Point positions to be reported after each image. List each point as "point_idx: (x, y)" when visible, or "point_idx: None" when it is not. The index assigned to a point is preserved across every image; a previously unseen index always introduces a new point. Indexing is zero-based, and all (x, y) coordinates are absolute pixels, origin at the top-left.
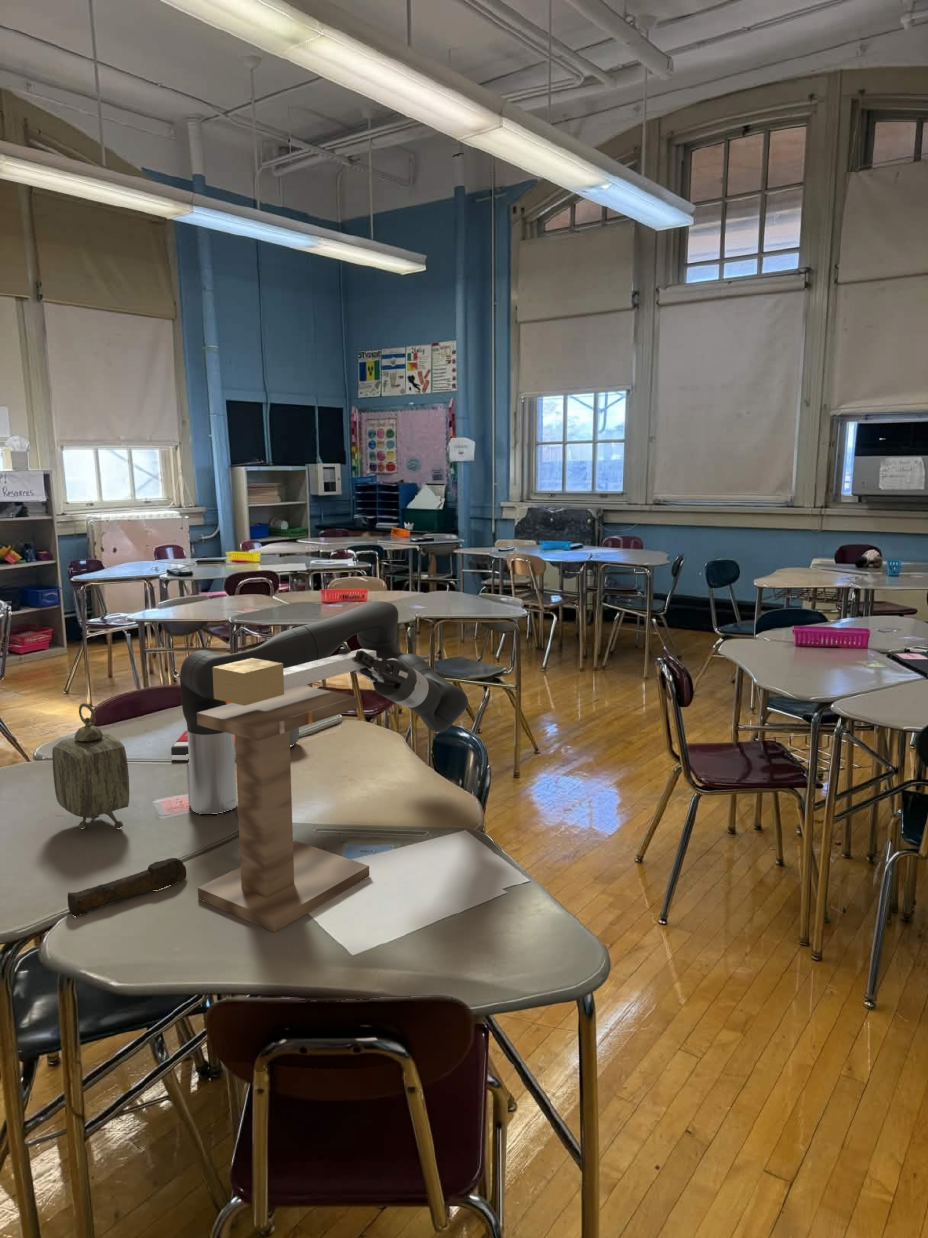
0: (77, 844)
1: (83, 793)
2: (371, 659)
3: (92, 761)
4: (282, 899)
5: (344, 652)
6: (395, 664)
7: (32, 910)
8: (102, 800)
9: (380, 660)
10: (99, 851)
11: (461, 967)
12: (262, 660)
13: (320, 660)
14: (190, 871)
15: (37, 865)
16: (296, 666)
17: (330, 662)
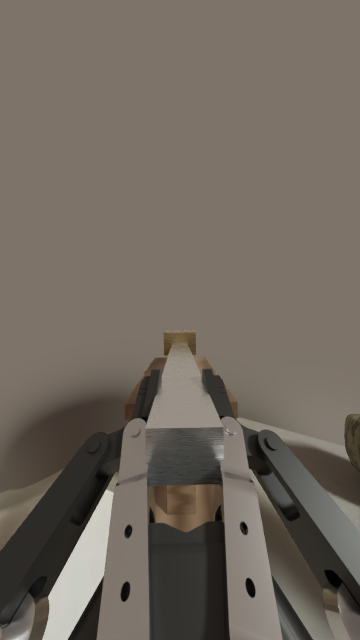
0: (341, 470)
1: (345, 440)
2: (135, 409)
3: (352, 424)
4: (159, 487)
5: (203, 380)
6: (39, 504)
7: (248, 424)
8: (356, 460)
9: (121, 462)
10: (322, 473)
11: (6, 520)
12: (183, 332)
13: (189, 359)
14: (257, 496)
15: (304, 443)
16: (186, 350)
17: (169, 359)
